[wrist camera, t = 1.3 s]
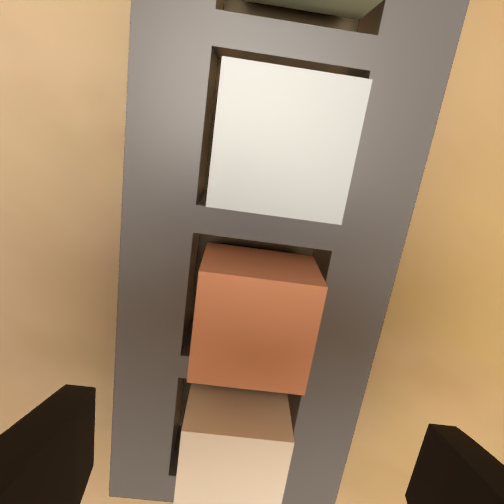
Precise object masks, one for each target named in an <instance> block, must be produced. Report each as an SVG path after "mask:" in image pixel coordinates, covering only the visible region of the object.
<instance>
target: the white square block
mask: <svg viewBox="0 0 504 504" xmlns="http://www.w3.org/2000/svg"><path fill="white" fill-rule="evenodd" d="M372 80H373V79H367V78H360V77H354V76H348V75H341V74H335V73H328V72H322V71H316V70H309V69H303V68H296V67H290V66H284V65H277V64H271V63H265V62H258V61H252V60H245V59H239V58H233V57H226V56H222V61H221V70H220V79H219V88H218V97H217V107H216V116H215V125H214V134H213V143H212V153H211V162H210V171H209V180H208V189H207V199H206V207H212V208H219V209H226V210H234V211H241V212H249V213H256V214H263V215H271V216H278V217H286V218H293V219H300V220H308V221H315V222H322V223H330V224H337V225H342V220H343V215H344V211H345V206H346V201H347V197H348V192H349V187H350V183H351V178H352V173H353V169H354V164H355V159H356V155H357V150H358V145H359V141H360V136H361V132H362V127H363V122H364V118H365V113H366V108H367V104H368V99H369V94H370V90H371V85H372Z"/></svg>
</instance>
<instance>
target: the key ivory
mask: <svg viewBox="0 0 504 504" xmlns="http://www.w3.org/2000/svg"><path fill="white" fill-rule="evenodd" d="M294 443H295V442H294V436H293V429H292V422H291V415H290V409H289V402H288V395H287V394H286V393H277V392H268V391H259V390H250V389H241V388H232V387H223V386H214V385H205V384H196V383H191V386H190V391H189V396H188V400H187V405H186V410H185V415H184V420H183V425H182V430H181V438H180V447H179V457H178V466H177V475H176V484H175V493H174V503H173V504H282V499H283V494H284V490H285V485H286V480H287V476H288V471H289V466H290V462H291V457H292V453H293V448H294Z"/></svg>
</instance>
